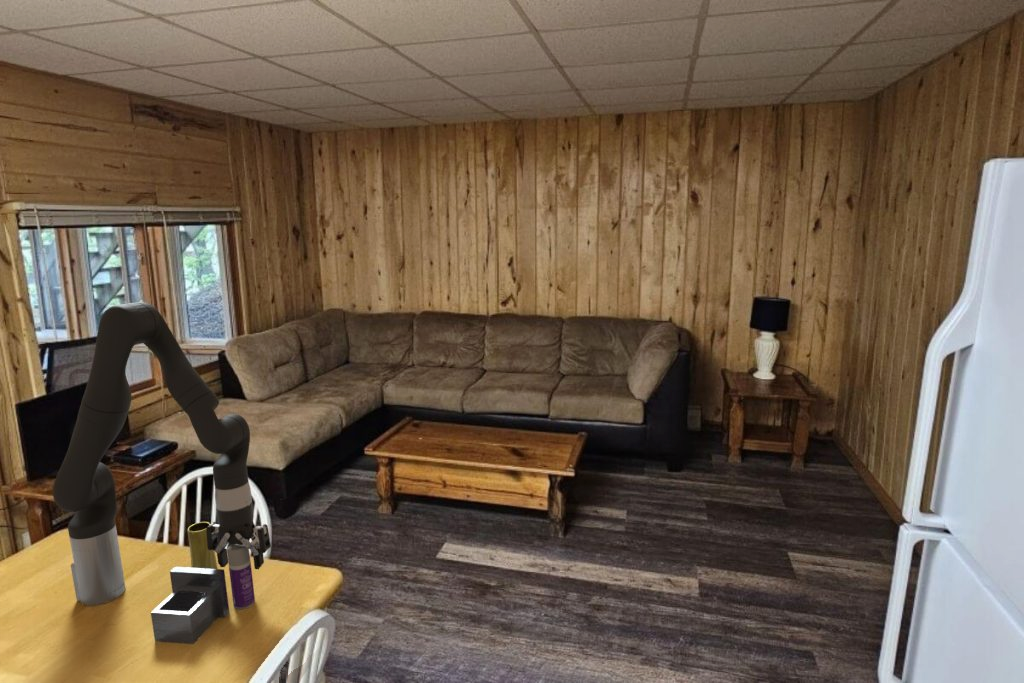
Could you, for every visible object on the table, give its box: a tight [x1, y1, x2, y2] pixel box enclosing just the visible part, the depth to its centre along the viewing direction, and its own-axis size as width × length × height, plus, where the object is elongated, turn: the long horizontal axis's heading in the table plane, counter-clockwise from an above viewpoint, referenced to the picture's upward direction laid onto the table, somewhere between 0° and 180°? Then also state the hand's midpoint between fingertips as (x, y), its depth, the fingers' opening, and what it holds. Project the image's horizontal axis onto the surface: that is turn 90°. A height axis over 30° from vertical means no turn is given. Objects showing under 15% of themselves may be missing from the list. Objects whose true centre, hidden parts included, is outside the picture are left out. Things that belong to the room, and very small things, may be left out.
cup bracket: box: [150, 566, 230, 645], centre depth 137 cm, size 12×11×11 cm
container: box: [226, 543, 256, 610], centre depth 144 cm, size 5×5×15 cm
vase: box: [186, 521, 219, 569], centre depth 155 cm, size 6×6×14 cm
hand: (241, 566), depth 144 cm, fingers open, 8 cm apart
